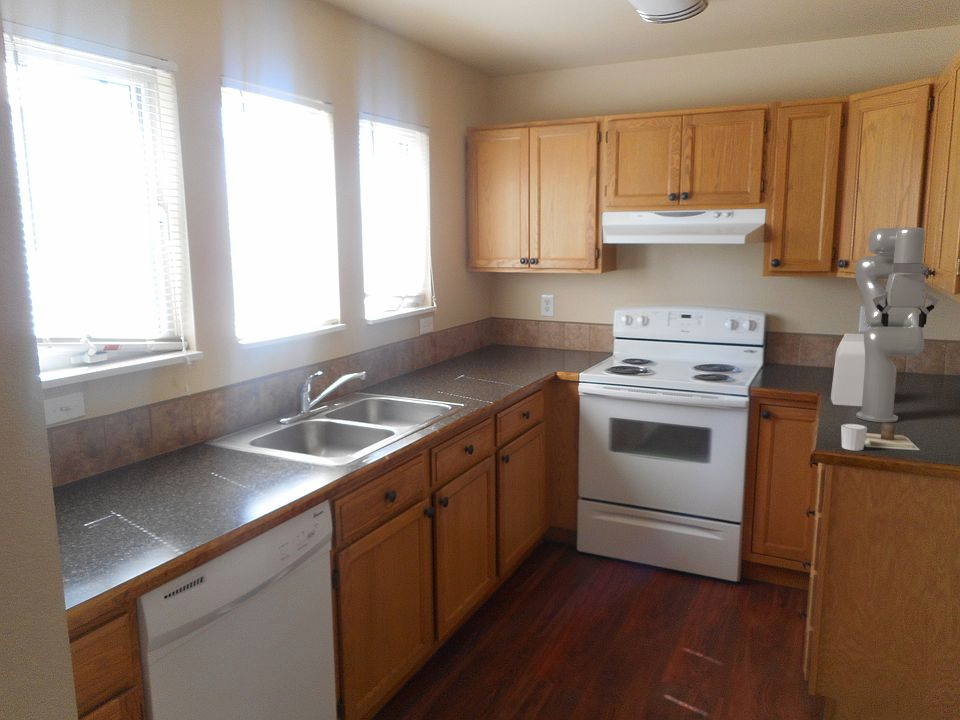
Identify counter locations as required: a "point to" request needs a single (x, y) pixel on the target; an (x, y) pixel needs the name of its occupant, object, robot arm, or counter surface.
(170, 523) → the counter surface
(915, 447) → the mat
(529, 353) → the counter surface
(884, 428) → the lid
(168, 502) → the counter surface
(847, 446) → the white cup
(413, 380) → the counter surface
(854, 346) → the milk
